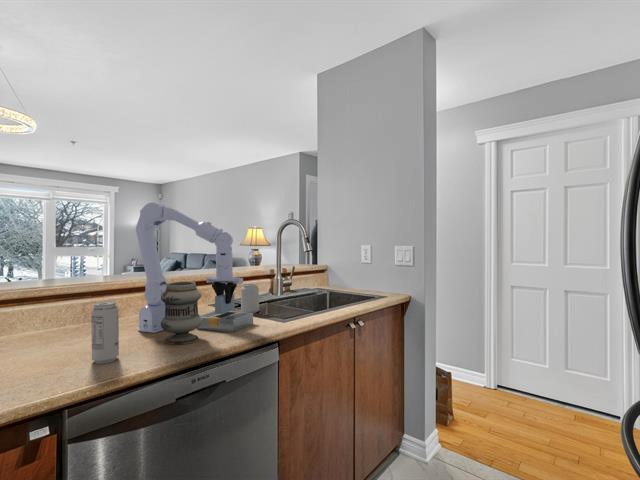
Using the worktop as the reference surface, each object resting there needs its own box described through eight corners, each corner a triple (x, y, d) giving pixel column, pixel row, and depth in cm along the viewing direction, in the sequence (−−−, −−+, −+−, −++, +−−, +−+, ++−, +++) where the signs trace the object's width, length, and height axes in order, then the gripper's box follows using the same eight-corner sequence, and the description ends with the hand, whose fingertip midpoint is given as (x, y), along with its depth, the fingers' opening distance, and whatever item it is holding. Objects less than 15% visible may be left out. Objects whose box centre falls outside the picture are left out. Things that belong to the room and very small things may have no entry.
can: (260, 313, 146) (260, 284, 146) (242, 314, 143) (242, 285, 143) (257, 309, 153) (256, 282, 153) (239, 311, 150) (239, 283, 150)
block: (221, 313, 121) (221, 296, 121) (215, 313, 122) (214, 296, 122) (234, 309, 129) (234, 293, 129) (228, 308, 130) (228, 293, 129)
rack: (232, 332, 116) (232, 320, 116) (194, 328, 122) (194, 316, 122) (253, 323, 128) (253, 312, 128) (217, 320, 134) (217, 309, 134)
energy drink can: (122, 359, 91) (121, 303, 91) (96, 366, 86) (95, 306, 86) (114, 354, 95) (113, 300, 95) (88, 360, 90) (88, 303, 90)
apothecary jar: (157, 347, 101) (156, 286, 101) (164, 336, 112) (163, 281, 112) (201, 344, 104) (200, 284, 104) (203, 333, 116) (203, 279, 115)
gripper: (247, 265, 126) (247, 302, 126) (214, 264, 131) (215, 299, 131) (236, 266, 119) (236, 306, 120) (202, 265, 125) (202, 303, 125)
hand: (224, 303), depth 125 cm, fingers closed on block, 3 cm apart
